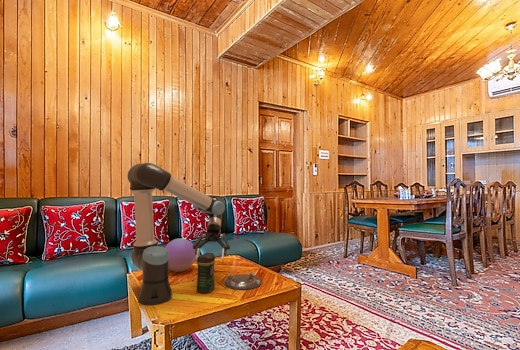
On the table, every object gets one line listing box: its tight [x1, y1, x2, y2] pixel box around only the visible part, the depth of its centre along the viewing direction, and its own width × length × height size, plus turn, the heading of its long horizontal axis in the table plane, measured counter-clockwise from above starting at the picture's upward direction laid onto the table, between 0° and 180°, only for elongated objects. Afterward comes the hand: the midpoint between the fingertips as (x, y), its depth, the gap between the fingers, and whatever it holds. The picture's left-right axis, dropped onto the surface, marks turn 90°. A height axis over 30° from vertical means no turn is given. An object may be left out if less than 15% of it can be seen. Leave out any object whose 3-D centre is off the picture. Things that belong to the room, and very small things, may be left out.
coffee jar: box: [196, 252, 216, 294], centre depth 147 cm, size 10×8×19 cm
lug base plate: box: [224, 272, 262, 291], centre depth 157 cm, size 20×20×3 cm
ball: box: [164, 237, 196, 273], centre depth 177 cm, size 20×20×20 cm
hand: (209, 260), depth 151 cm, fingers open, 13 cm apart
